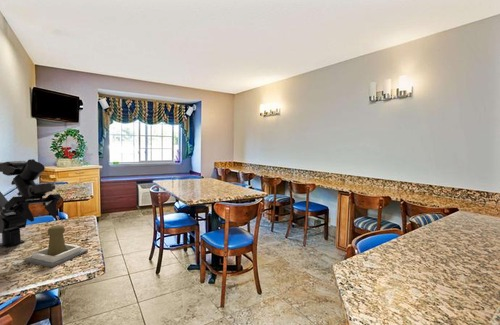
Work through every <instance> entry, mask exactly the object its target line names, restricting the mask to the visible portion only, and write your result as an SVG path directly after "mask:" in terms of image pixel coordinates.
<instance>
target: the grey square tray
mask: <svg viewBox="0 0 500 325" xmlns="http://www.w3.org/2000/svg"><path fill="white" fill-rule="evenodd" d="M65 247H66V252H63V253H61V254H58V255H56V256H50V255H47V254H48V247H45V248H42V249H40V250H36V251H34V252H32V253H30V254H31V255H30V256H29V257H26V258H24V260H23V262H27V263H31V264H35V265H38V266H39V265H40V266H45V267H49V268H53V267H56V266H58V265H61V264H63V263H66V262H68V261H70V260H72V259H74V258H77V257H78V256H81V255H83V253H84V254H85V253H88V249H85V248H82V246H81V245H76V244H71V243H66V242H65Z"/></svg>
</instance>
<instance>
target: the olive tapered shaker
mask: <svg viewBox="0 0 500 325" xmlns="http://www.w3.org/2000/svg"><path fill="white" fill-rule="evenodd" d="M64 233H65V227H64V225H58V224H57V225H53V226H50V227H49V228H48V229H47V235H48V236H49V238H48V247H47V248H48V254H47V255H50V256H56V255H58V254H61V253H63V252H66V247H65V243H66V242H65V238H64V237H65V236H64Z"/></svg>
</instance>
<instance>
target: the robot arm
mask: <svg viewBox="0 0 500 325" xmlns="http://www.w3.org/2000/svg"><path fill="white" fill-rule="evenodd" d="M45 168H46V167H45V165H44V164H43V163H41V162H38V161H36V160H35V159H31V158H30V159H28V160H27V161H26V160H14V161H4V162H3V161H1V162H0V173H2V175H5V176H7V177H8V176H9V177H12V176H14V177H12V178H13V179H12V180H11V185H12V186H15V187H16V189H17V190H18V192H17V194H16V195H17V196H12V197H11V198H10V199H9V200H8V199H7V198H6V197H5V196H4V194H3V192H1V191H0V234H1V242H0V247H4V248H9V247H13V246H16V245H19V244H22V243H25V242H26V241H25V240H22V239H21V229H24V228H26V227H27V222H28V221H30V222H31V223H32V222H34V221H35V217H34V215H33V213H32V211H31V209H30V206H29V205H35V204H42V205H43V206H44V209H45V210H46V211H47V213H49V214H50V215H51V217H52V218H55V219H56V218H57V217H58V215H57V214H58V213H57V204H58V203H59V202H60V201H61V199H62V196H61V194H59V193H50V192H53V190H56V185H55V184H54V182H51V181H50V182H46V183H40V184H36V182H35V180H38V178H39V177H40V176H41V174H42V173H43V172H44V171H45V170H46V169H45ZM47 193H50V194H48V195H47ZM45 196H46V197H45Z"/></svg>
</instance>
